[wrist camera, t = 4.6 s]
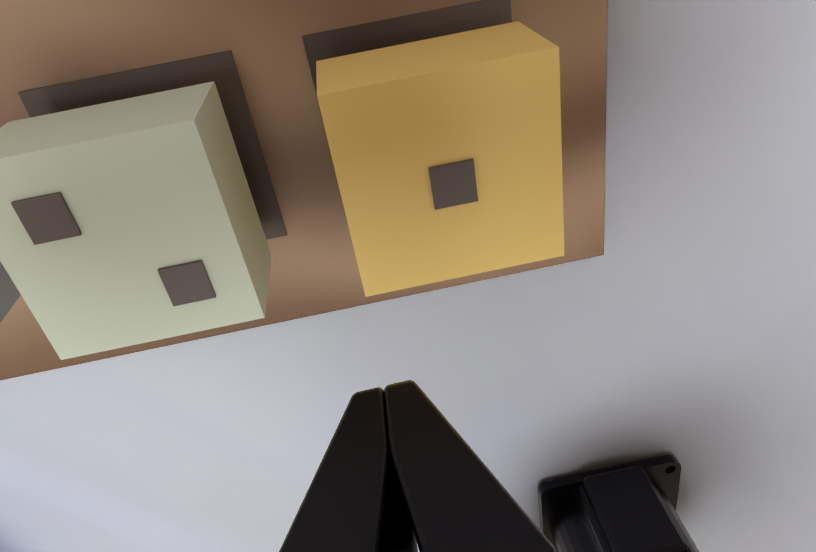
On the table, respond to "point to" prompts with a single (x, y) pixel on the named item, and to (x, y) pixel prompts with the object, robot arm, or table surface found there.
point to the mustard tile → (447, 154)
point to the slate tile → (6, 292)
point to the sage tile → (131, 221)
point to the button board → (284, 118)
